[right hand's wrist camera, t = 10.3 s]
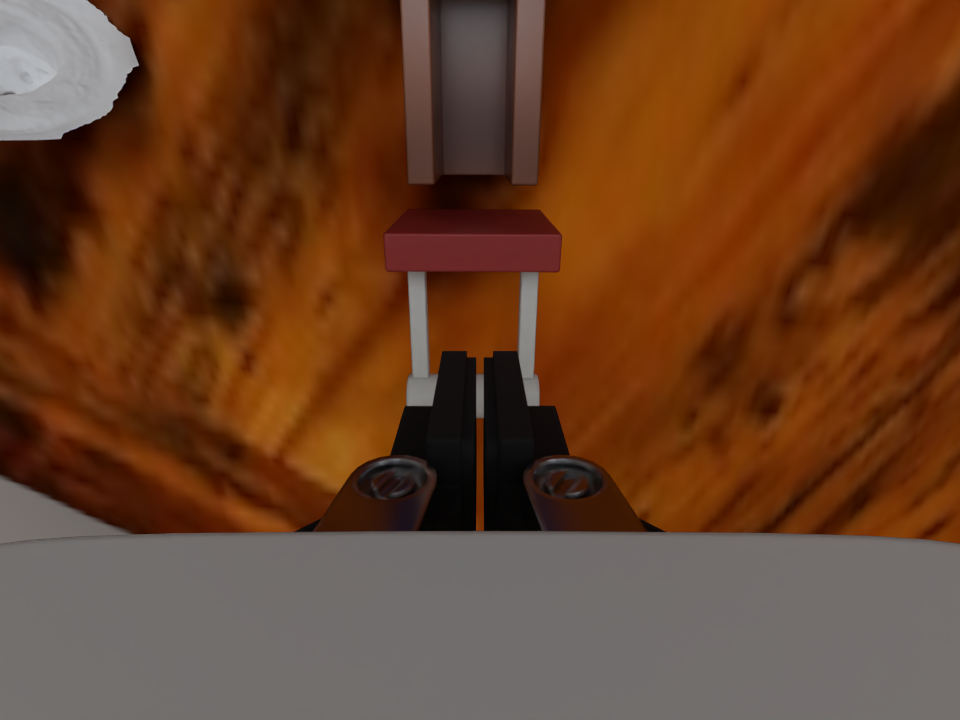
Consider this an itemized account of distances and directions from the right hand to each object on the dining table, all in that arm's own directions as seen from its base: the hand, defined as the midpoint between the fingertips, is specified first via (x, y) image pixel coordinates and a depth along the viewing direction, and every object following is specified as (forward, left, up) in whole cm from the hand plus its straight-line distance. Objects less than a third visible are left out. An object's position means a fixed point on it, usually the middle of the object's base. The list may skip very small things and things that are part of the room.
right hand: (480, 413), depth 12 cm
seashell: (+8, +17, -13) cm, 23 cm away
